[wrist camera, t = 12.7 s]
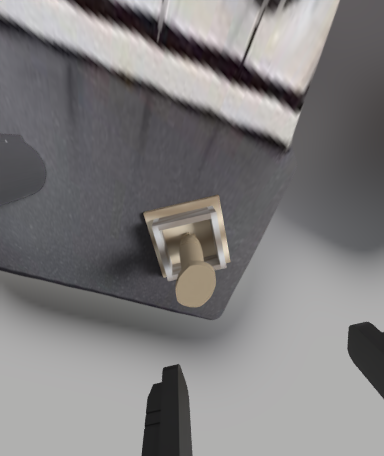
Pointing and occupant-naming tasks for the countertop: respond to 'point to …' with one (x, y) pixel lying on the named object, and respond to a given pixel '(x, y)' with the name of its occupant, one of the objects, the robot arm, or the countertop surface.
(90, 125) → the countertop surface
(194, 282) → the handle
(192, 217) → the small square bin
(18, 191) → the robot arm
